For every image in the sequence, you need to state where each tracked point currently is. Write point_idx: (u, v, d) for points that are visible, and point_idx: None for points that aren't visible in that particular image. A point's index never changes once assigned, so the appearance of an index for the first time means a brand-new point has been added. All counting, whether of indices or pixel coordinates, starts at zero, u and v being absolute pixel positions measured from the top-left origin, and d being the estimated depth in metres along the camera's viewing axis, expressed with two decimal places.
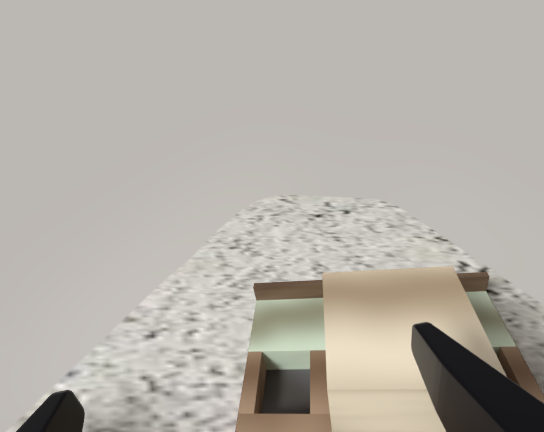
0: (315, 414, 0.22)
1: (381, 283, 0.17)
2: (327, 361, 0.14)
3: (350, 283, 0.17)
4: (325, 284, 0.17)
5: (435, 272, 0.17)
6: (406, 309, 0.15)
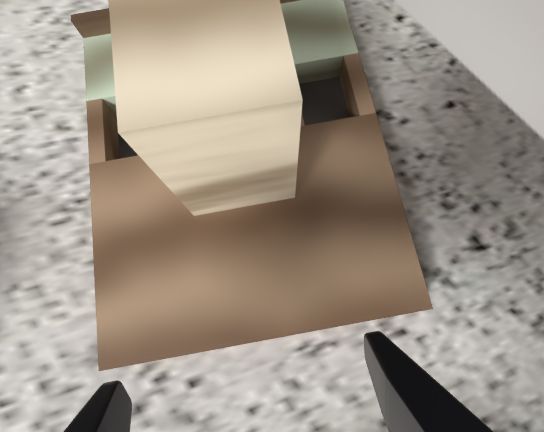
0: None
1: None
2: (117, 102, 0.12)
3: None
4: (112, 3, 0.13)
5: None
6: (209, 25, 0.13)
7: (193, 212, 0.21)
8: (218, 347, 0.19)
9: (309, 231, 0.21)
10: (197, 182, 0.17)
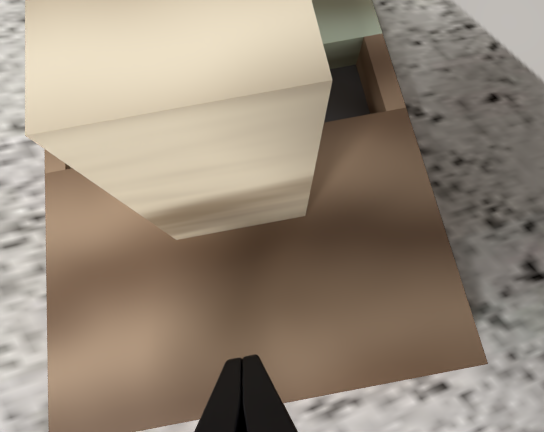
0: None
1: None
2: (28, 85, 0.07)
3: None
4: None
5: None
6: None
7: (174, 236, 0.16)
8: None
9: (324, 259, 0.16)
10: (174, 202, 0.12)
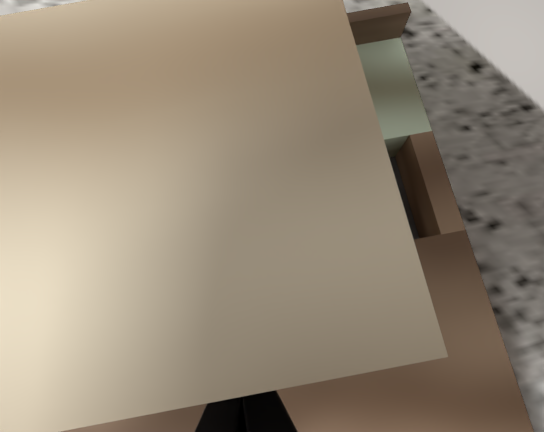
0: None
1: (125, 42, 0.05)
2: None
3: (33, 52, 0.05)
4: None
5: None
6: (186, 124, 0.05)
7: None
8: None
9: None
10: None
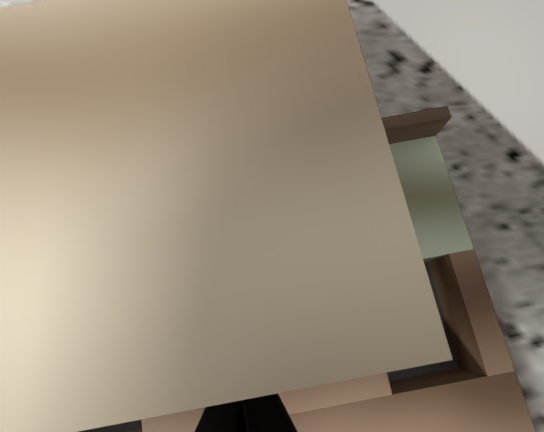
0: None
1: (121, 35, 0.05)
2: None
3: (27, 46, 0.05)
4: None
5: None
6: (183, 121, 0.05)
7: None
8: None
9: None
10: None
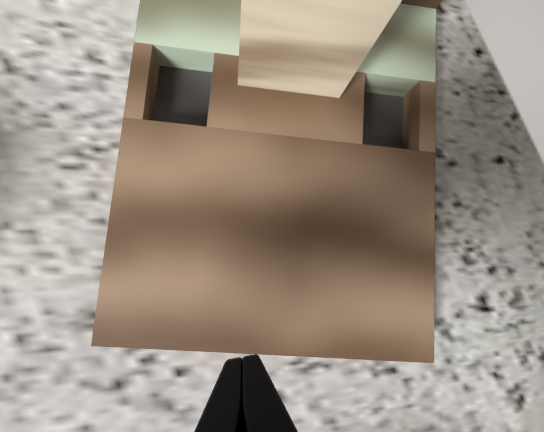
0: (212, 127, 0.20)
1: None
2: None
3: None
4: None
5: None
6: None
7: (240, 79, 0.20)
8: (221, 351, 0.19)
9: (339, 256, 0.20)
10: (270, 35, 0.16)
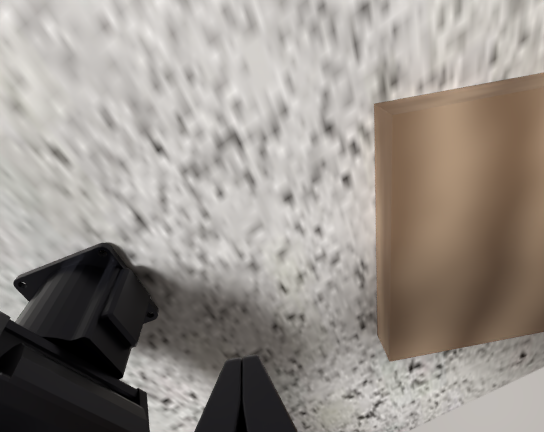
0: None
1: None
2: None
3: None
4: None
5: None
6: None
7: None
8: (392, 227, 0.21)
9: (471, 289, 0.24)
10: None
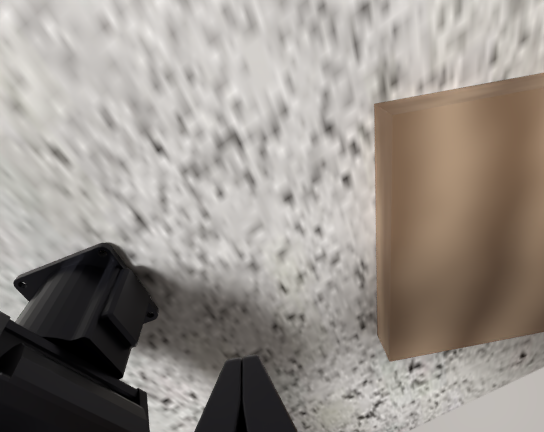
0: None
1: None
2: None
3: None
4: None
5: None
6: None
7: None
8: (392, 227, 0.21)
9: (471, 289, 0.24)
10: None
